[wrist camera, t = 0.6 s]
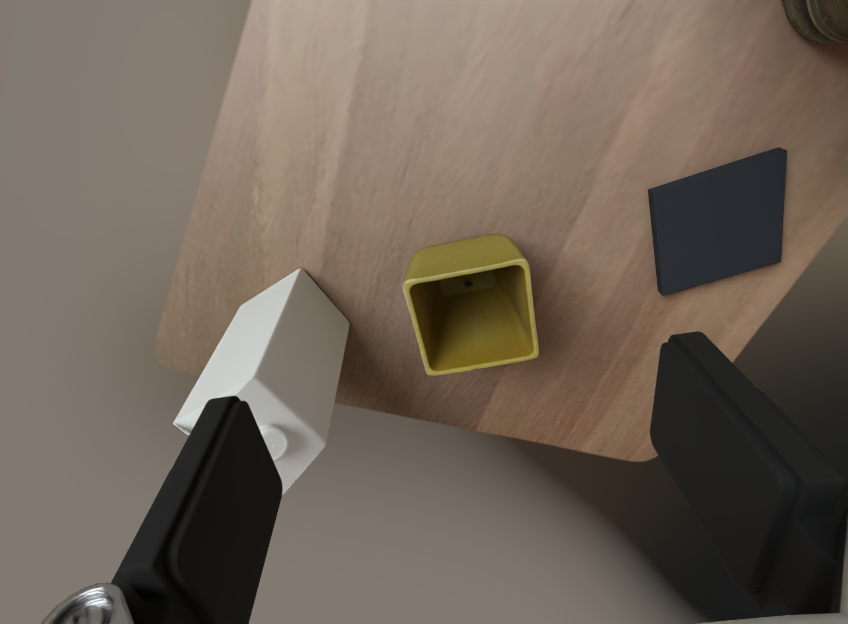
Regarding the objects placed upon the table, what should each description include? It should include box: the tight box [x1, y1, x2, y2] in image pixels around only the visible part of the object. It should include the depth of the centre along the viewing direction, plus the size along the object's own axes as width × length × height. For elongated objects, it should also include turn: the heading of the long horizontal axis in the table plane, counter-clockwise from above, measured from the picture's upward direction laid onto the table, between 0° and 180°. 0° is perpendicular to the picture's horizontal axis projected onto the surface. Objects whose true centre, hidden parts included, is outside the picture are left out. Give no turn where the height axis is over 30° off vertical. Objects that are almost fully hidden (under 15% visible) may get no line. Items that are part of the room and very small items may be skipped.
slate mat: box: [648, 148, 787, 296], centre depth 40 cm, size 10×10×1 cm
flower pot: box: [403, 234, 539, 376], centre depth 39 cm, size 9×9×9 cm
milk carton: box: [173, 268, 350, 495], centre depth 37 cm, size 7×7×19 cm
